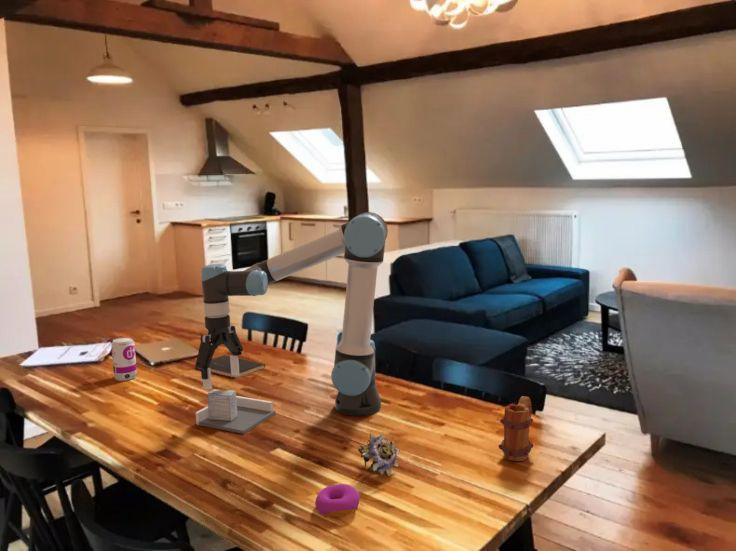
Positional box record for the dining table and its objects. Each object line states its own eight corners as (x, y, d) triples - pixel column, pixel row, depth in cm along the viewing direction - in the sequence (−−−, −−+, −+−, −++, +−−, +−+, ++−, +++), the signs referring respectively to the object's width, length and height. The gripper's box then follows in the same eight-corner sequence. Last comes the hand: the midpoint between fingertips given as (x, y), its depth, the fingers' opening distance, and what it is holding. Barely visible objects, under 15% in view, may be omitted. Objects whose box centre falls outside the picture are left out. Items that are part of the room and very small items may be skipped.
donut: (320, 497, 153) (320, 479, 152) (362, 498, 152) (362, 481, 151) (312, 520, 143) (311, 501, 142) (356, 522, 142) (356, 503, 141)
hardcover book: (235, 379, 241) (235, 374, 241) (195, 369, 255) (195, 364, 254) (265, 368, 254) (265, 363, 254) (226, 359, 268) (226, 354, 267)
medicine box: (238, 416, 201) (236, 390, 199) (231, 422, 197) (230, 395, 195) (215, 414, 203) (213, 388, 201) (208, 419, 199) (206, 393, 197)
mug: (524, 468, 165) (526, 413, 163) (495, 461, 170) (495, 407, 167) (541, 447, 178) (543, 395, 175) (513, 441, 182) (514, 390, 179)
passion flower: (388, 494, 164) (379, 471, 156) (353, 477, 169) (343, 454, 161) (409, 458, 170) (402, 435, 162) (375, 442, 175) (366, 419, 167)
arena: (275, 414, 205) (275, 402, 204) (244, 433, 190) (243, 421, 189) (230, 406, 213) (229, 394, 212) (196, 424, 198) (195, 412, 197)
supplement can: (141, 376, 245) (138, 338, 243) (123, 382, 239) (120, 344, 236) (128, 373, 250) (125, 336, 247) (109, 379, 243) (106, 341, 240)
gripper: (232, 306, 207) (236, 368, 210) (179, 323, 185) (185, 393, 188) (251, 307, 204) (255, 371, 207) (199, 325, 182) (205, 396, 185)
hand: (222, 381), depth 198 cm, fingers open, 13 cm apart
